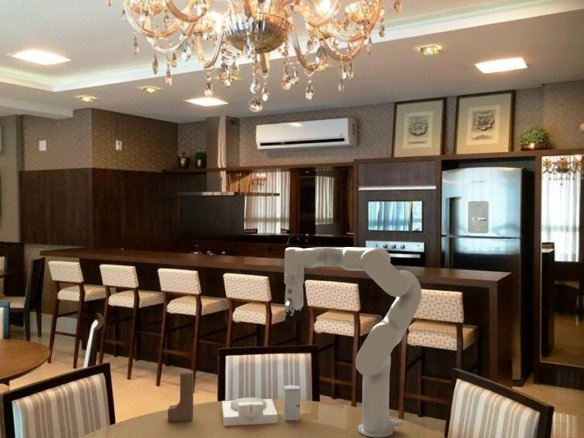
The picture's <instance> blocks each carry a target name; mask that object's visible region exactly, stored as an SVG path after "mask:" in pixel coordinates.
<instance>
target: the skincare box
mask: <svg viewBox="0 0 584 438" xmlns="http://www.w3.org/2000/svg"><path fill="white" fill-rule="evenodd" d="M282 410H283V413H282V418H283V420H284V421H300V416H301V414H300V413H301V411H300V410H301V387H300V385H292V384H291V385H290V384H289V385H283V408H282Z"/></svg>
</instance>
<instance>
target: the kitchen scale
mask: <svg viewBox="0 0 584 438" xmlns="http://www.w3.org/2000/svg"><path fill="white" fill-rule="evenodd" d="M221 406H222V407H221V408H222V409H221V410H222V420H223V427H228V426H230V427H231V426H246V425H247V426H249V425H267V424H278V416H279V415H278V412H277V410H276V407H275V405H274V401H273V399H272V398H264V399H263V398H258V397H241V398H236V399H234V400H222V401H221Z"/></svg>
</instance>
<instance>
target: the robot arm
mask: <svg viewBox="0 0 584 438" xmlns="http://www.w3.org/2000/svg"><path fill="white" fill-rule="evenodd" d="M319 267H331V268H342V269H343V270H344V271H355V272H356V271H359V272H365V273H366V274H367V275H368V276H369V277H370V278H371V279H372V280H373V281H374V282H375V283H376V284H377V285H378V286H379V288H381V289H382V290H383V291H384V292H385V293H386V294H388V295H389V296H391V297H395V300H394V301H393V302H392V303H391V306H390V308H389V310H388V312H387V313H386V315H385V316H384V318H383V319H382V320H381V321H379V322H378V323H376V324H375V325H374V326H373V327H372V329H371V330H370V332H369V333H368V334H367V336H366V338H365V340H364V342H363V343H362V345H361V347H360V349H359V351H358V352H357V354H356V357H355V367H356V369H357V371H358V372H359V373H360V374H361V375H362V401H361V402H362V403H361V404H362V405H361V406H362V411H361V412H362V413H361V414H362V415H361V417H362V418H361V419H362V421H361V422H362V423H360V424H359V425H358V426H357V431H358V433H359V434H361V435H363V436H366V437H368V438H387V437H391V436H392V435H393V434H394V427H402V426H403V422H402V420H397V419H396V418H392V419H391V418H390V405H389V404H390V373H391V364H392V362H391V361H392V357H391V354H392V352H393V350H394V348H395V347H396V346H397V345H398V344H399V343H400V342H401V341H402V339H403V337H404V334H405V333H406V331H407V329H408V328H409V326H410V324H411V323H412V320H413V318H414V317H415V315H416V313H417V311H418V309H419V307H420V304H421V300H422V287H421V284H420V282H419V280H418V277H417V276H416V275H415V274H414V273H412V272H411V271H409V270H407V269H400V270H398V269H397V268H396V267H395V266H394V265H393V264H392V263H391V256H390V253H389V252H388V251H387V250H386V249H384V248H382V247H380V248H379V247H354V246H353V247H350V246H349V247H347V246H346V247H326V246H325V247H322V246H321V247H308V248H302V247H287V248H285V251H284V273H283V274H284V275H283V276H284V280H283V281H284V282H283V283H284V284H285V291H284V292H285V294H284V308H285V310H284V311H285V313H284V317H285V318H284V319H285V320H284V324H285V327H294V322H298V323H300V322H302V308H303V307H304V288H303V287H304V286H303V284H304V281H305V268H307V269H314V268H315V269H316V268H319Z"/></svg>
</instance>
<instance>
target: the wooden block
mask: <svg viewBox="0 0 584 438" xmlns="http://www.w3.org/2000/svg"><path fill="white" fill-rule="evenodd" d="M194 374H195V373H194V370H181V372H180V375H179V379H180V380H179V381H180V382H179V387H180V388H179V402H178V403H177V404H173V405H169V407H168V409H167V421H168V422H192V421H193V418H194Z"/></svg>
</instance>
